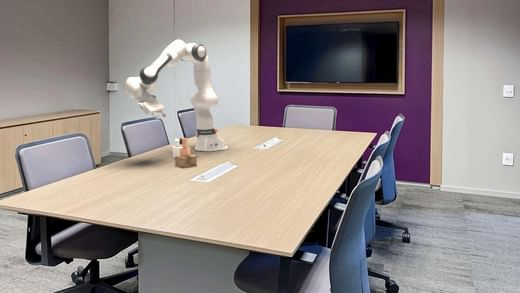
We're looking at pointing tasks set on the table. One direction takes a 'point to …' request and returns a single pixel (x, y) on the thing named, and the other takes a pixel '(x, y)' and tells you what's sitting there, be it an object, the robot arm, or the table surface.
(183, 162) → the walnut block
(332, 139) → the table surface
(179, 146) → the medicine bottle
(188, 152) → the vase
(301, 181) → the table surface
